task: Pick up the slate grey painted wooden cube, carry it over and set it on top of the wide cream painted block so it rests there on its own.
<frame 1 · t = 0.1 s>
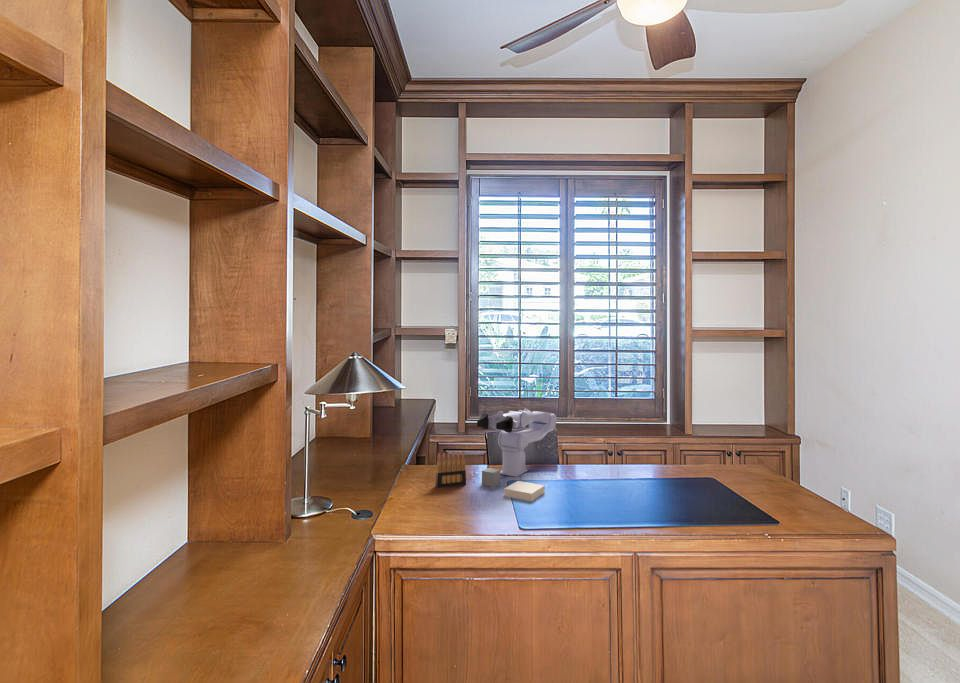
hand: (487, 424, 194), 22 cm above the table, tool horizontal, fingers open, 7 cm apart
ammunition clip: (450, 486, 195), on the table
grey cube: (491, 484, 197), on the table
cream block: (524, 495, 186), on the table
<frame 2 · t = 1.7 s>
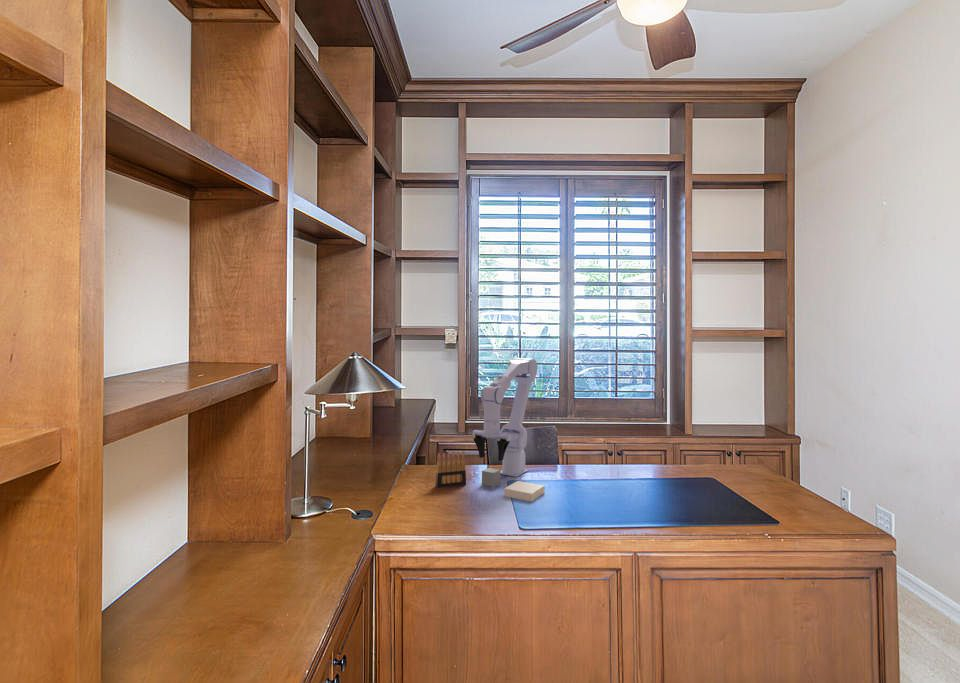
hand: (491, 458, 197), 9 cm above the table, tool pointing down, fingers open, 7 cm apart
nothing on the table moved.
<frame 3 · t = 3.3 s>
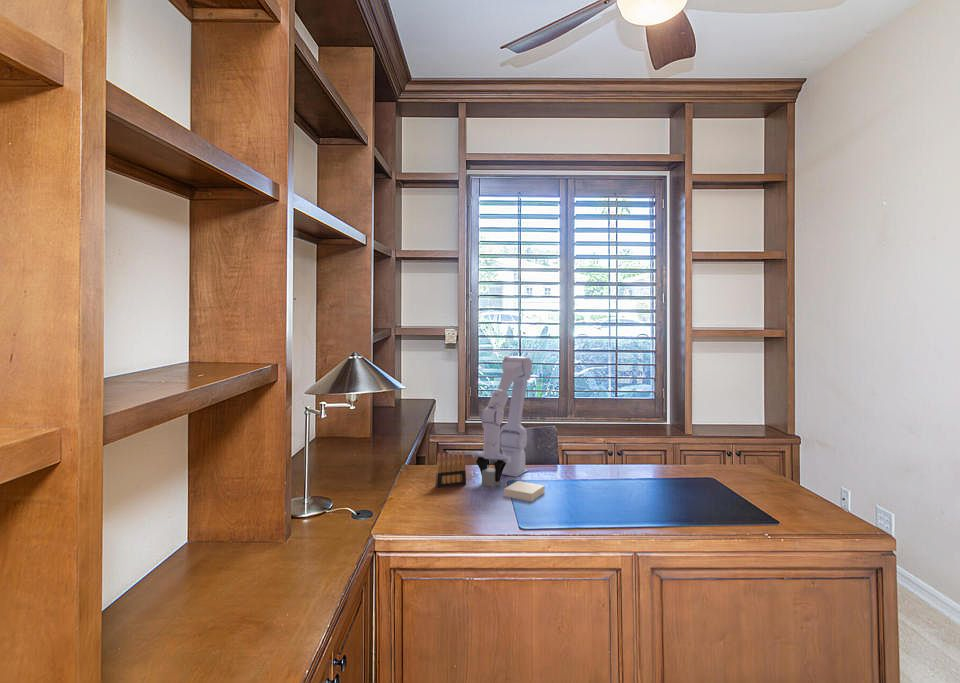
hand: (491, 480, 197), 1 cm above the table, tool pointing down, fingers closed on grey cube, 5 cm apart
grey cube: (491, 484, 197), on the table, touching gripper
everything else where it was.
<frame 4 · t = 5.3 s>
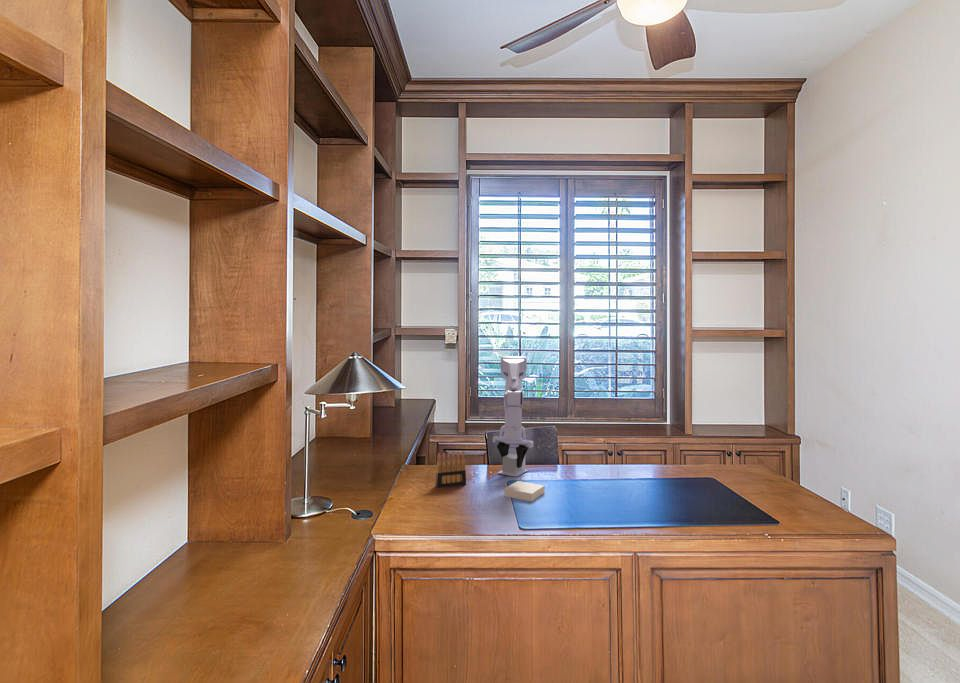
hand: (512, 465, 190), 9 cm above the table, tool pointing down, fingers closed on grey cube, 5 cm apart
grey cube: (511, 470, 190), point 7 cm above the table, touching gripper
everything else where it was.
when the fingers open (5 cm above the table, at t = 7.1 s): grey cube drops 1 cm, resting on cream block.
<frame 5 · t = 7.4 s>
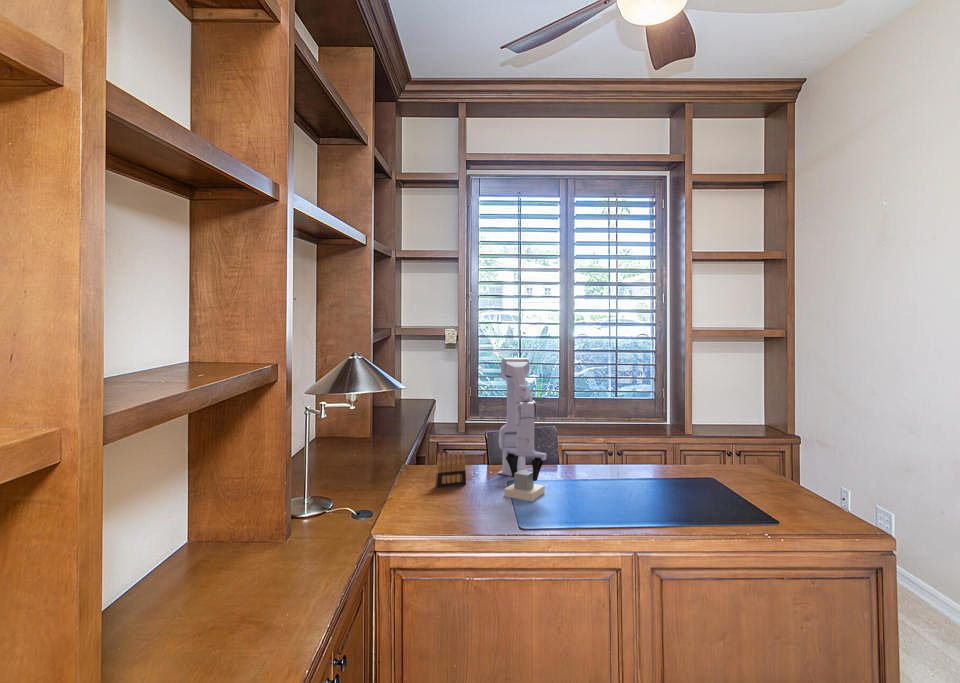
hand: (524, 478, 186), 5 cm above the table, tool pointing down, fingers open, 7 cm apart
grey cube: (523, 487, 186), point 2 cm above the table, touching cream block
cream block: (524, 496, 186), on the table, touching grey cube
everything else where it was.
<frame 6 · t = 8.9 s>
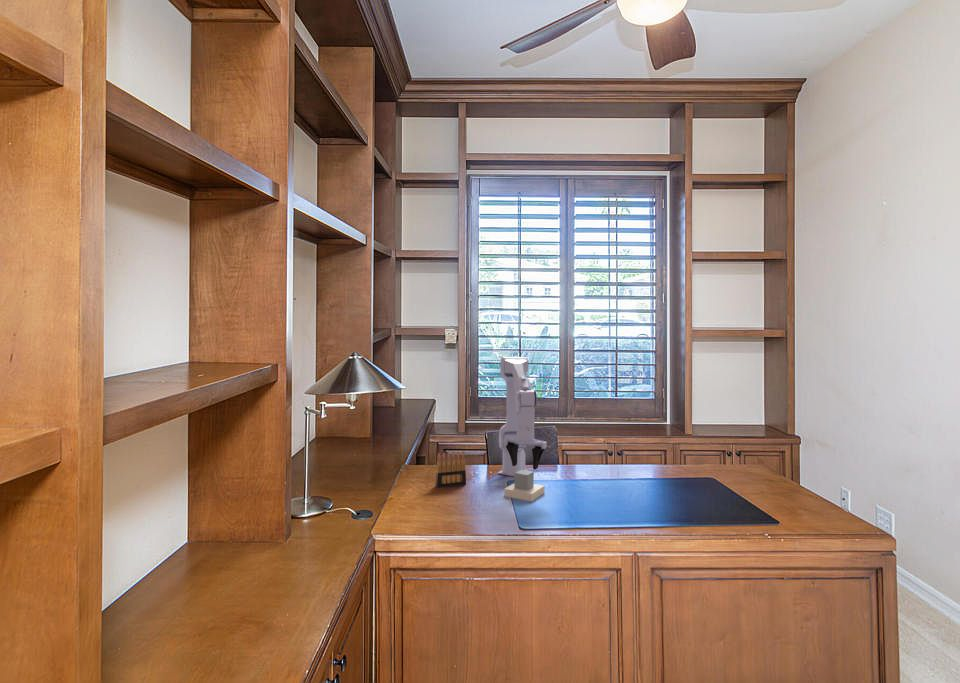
hand: (524, 467, 186), 9 cm above the table, tool pointing down, fingers open, 7 cm apart
grey cube: (523, 487, 186), point 2 cm above the table
cream block: (524, 496, 186), on the table
everything else where it was.
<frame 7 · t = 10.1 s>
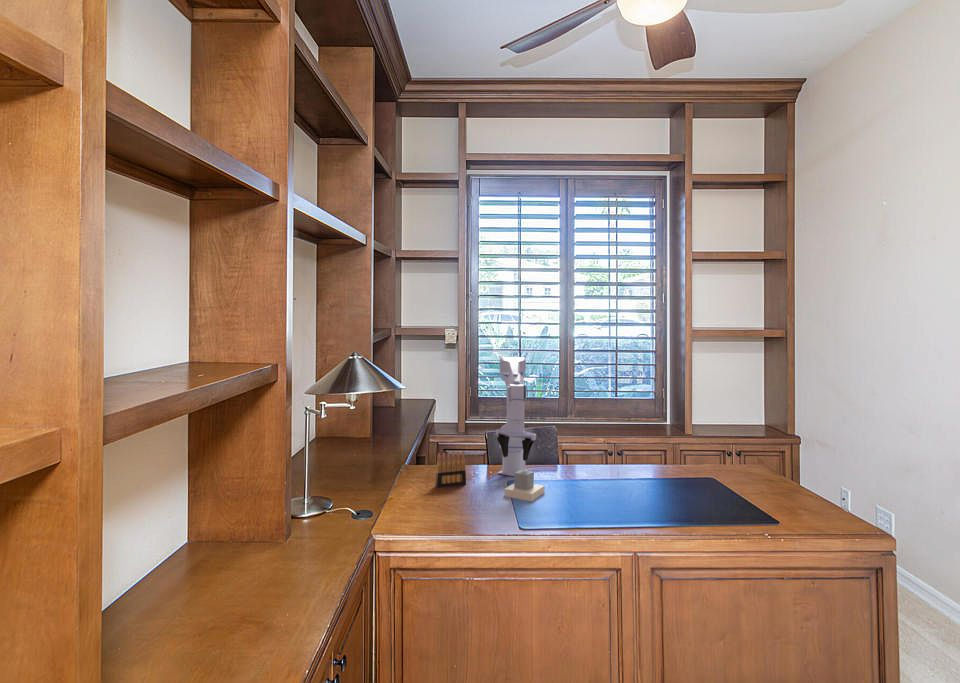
hand: (515, 458, 193), 10 cm above the table, tool pointing down, fingers open, 7 cm apart
grey cube: (523, 487, 186), point 2 cm above the table, touching cream block
cream block: (524, 496, 186), on the table, touching grey cube
everything else where it was.
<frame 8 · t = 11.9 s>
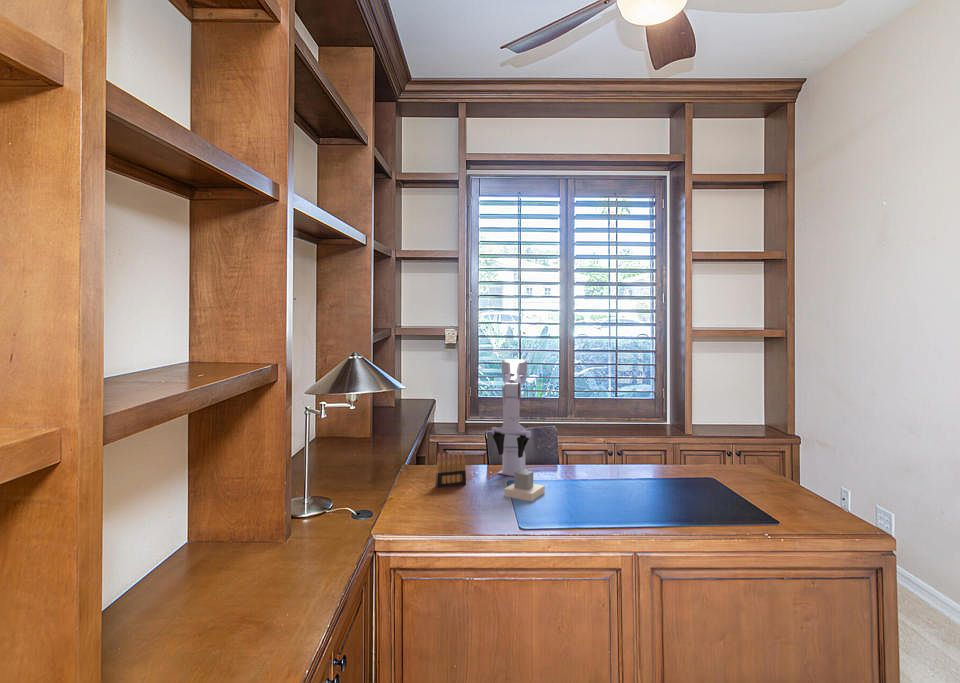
hand: (510, 455, 196), 10 cm above the table, tool pointing down, fingers open, 7 cm apart
grey cube: (523, 487, 186), point 2 cm above the table
cream block: (524, 496, 186), on the table
everything else where it was.
at the end: grey cube 0.3 cm off-centre on the cream block, point 3.0 cm above the cream block's base; grey cube tilted 0°; the gripper is holding nothing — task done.
